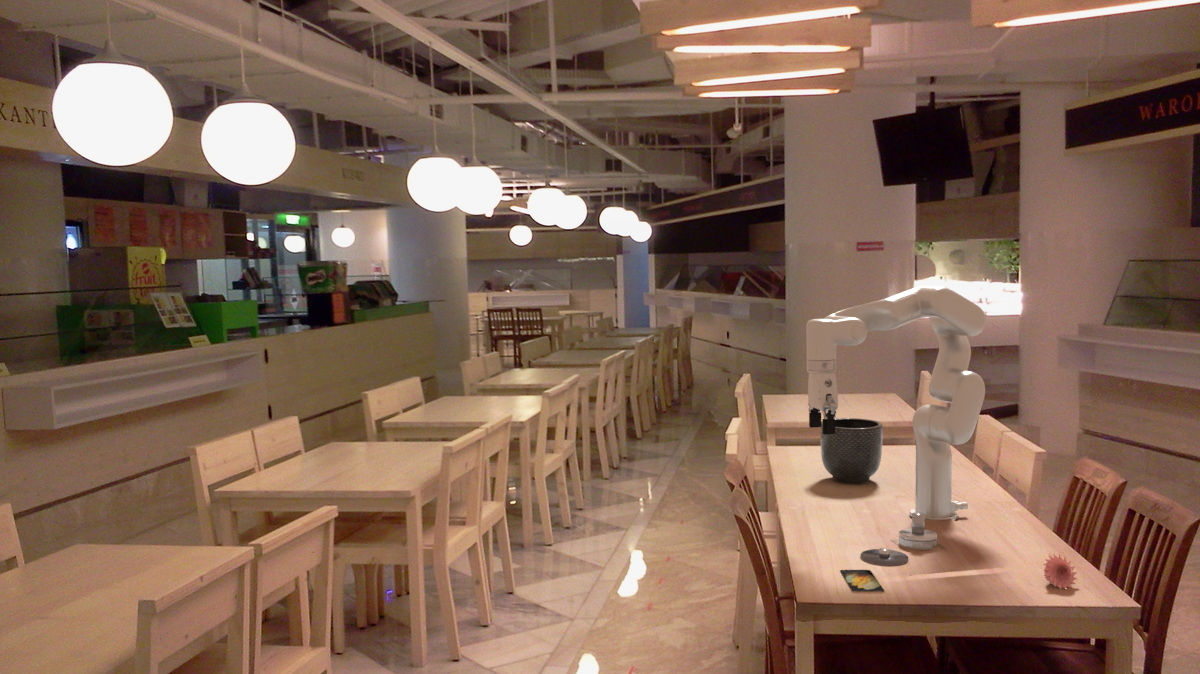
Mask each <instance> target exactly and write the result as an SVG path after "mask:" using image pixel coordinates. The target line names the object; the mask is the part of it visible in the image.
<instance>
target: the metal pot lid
mask: <svg viewBox="0 0 1200 674" xmlns="http://www.w3.org/2000/svg"><path fill="white" fill-rule="evenodd" d="M860 559H861V560H862V561H863V562H865V563H869V564H872V565H876V566H881V567H884V566H886V567H887V566H888V567H895V566H896V567H897V566H901V565H906V564H908V562H909V556H908V555H907V554H906V553H905V552H904V553H903V552H901V551H899V550H893V549H890V548H885V547H881V548H872V549H866V550H863V551H861V553H860Z"/></svg>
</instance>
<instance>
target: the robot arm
mask: <svg viewBox="0 0 1200 674" xmlns="http://www.w3.org/2000/svg"><path fill="white" fill-rule="evenodd" d="M924 318H928V319H929V323H930V326H931V328H932V330H933V332H934V333H935V335H936V337H937V340H938V347H939V348H938V353H937V358H936V360H935V364H934V367H933V370H932V373H931V376H930V380H929V383H928V393H929V395H930V397H932V398H933V399H935V400H937V401H939V402H944V403H947V404H950V407H947V406H945V405H944V406H943V405H938V404H930V403H929V404H924V405H922V406H919V407H918V408H917V409H916V410H915V412H914V413H913V415H912V420H911V421H912V424H911V425H912V430H913V431H912V432H913V436H914V439H915V440H914V441H915V501H914V502H915V505H914V506H915V507H913V508H911V509H910V510H909V516H910V517H911V518H912V513H914V512H919V513H924V514H925V521H926V520H935V521H938V520H939V521H940V520H941V521H943V520H953V521H956V520H957V519H958V513H957V512H956V511H958V510H968V508H969V505H968V503H967V502H966V501H964V502H959V501H957V500H956V501H955V500H952V491H953V490H952V488H953V486H952V483H953V481H952V479H953V478H952V477H953V475H952V474H953V467H952V465H953V453H952V449H951V446H950V444H951V445H956V446H958V445H963V444H965V443H967V442H968V441H969V440H970V439H971V438H972V436H973V434H974V431H975V429H976V426H977V423H978V420H979V417H980V413H981V410H982V407H983V404H984V400H985V398H986V397H985V395H986V387H985V385H986V384H985V381H984V380H983V378H982V376H980V375H979V374H978V373H976V372H974V371H970V370H969V365H970V361H971V357H972V349H971V344H970V342H969V338H968V337H975V336H977V335H979V334H981V333H982V332H983V330H984V329H985V328H986V325H987V317H986V314H985V312H984V310H983V309H982V308H981V307H980V306H979V305H977V303H975V302H973V301H971V300H970V299H967V298H966V297H964V296H962V295H961V294H959V293H957V292H955V290H953V289H950V288H948V287H946V286H945V287H944V286H940V285H939V286H938V285H936V286H934V285H933V286H932V285H920V286H915V287H912V288H910V289H907V290H905V291H901V292H899V293H896V294H893V295H891V296H888V297H885V298H883V299H880V300H879V299H878V300H875V301H871V302H867V303H863V304H859V305H855V306H851V307H848V308H845V309H842V310H839V311H836V312H834V313H831V314H829V315H826V316H825V317H824V318H813V319H809V320H808V321H807V323H806V328H805V329H806V330H805V331H806V372H807V373H808V381H807V382H808V383H807V399H808V401H807V403H808V404H807V405H808V407H809V408H808V422H809V423H808V427H809V428H815V429H816V428H820V427H821V422H822V421H823V434H824V435H826V434H835V419H837V417H836V414H837V410H838V408H839V398H838V397H839V395H838V383H837V375H836V372H837V346H847V347H853V346H857V345H860V344H861V343H863V342H864V341H865V340H866V339H867V336H868V332H882V331H883V332H884V331H885V332H886V331H890V330H895V329H897V328H899V327H903V326H905V325H907V324H910V323H913V322H914V321H918V320H920V319H924ZM822 416H823V418H822Z"/></svg>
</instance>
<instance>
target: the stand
mask: <svg viewBox="0 0 1200 674" xmlns="http://www.w3.org/2000/svg"><path fill="white" fill-rule="evenodd" d="M890 542H892V543H894V544H895V545H897V546H899V547H901V548H902V549H904V550H905V551H907V552H909V553H914V552H915V553H917V552H928V551H929V552H930V551H942V550H947V548H946V547H944V546H942V545H940V544H939V543H937V548H934V549H932V550H914V549H909V548H905V547H903V546H901V545H899V538H898V539H890Z"/></svg>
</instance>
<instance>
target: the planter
mask: <svg viewBox="0 0 1200 674" xmlns="http://www.w3.org/2000/svg"><path fill="white" fill-rule="evenodd" d="M883 428H884V427H883V424H882V422H881V421H877V420H873V419H867V418H857V417H855V418H854V417H852V418H851V417H840V418H838V417H836V418H835V434H826V435H824V434H823V420H821V427H819V430H820V434H819V437H820V439H819V440H820V452H821V453H820V454H821V455H820V456H821V461H822V465H823V467H824V469H825V471H827V473H829V475H831V477H832V478H833V480H834V481H835V482H837V483H839V484H845V485H862V484H866V483H867V482H869V481H870V478H871V477H872V476H873V475H875V474H876V473H877V471H878V470H879V467H880V465H881V461H882V453H883V436H884V435H883V431H884V430H883Z"/></svg>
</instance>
